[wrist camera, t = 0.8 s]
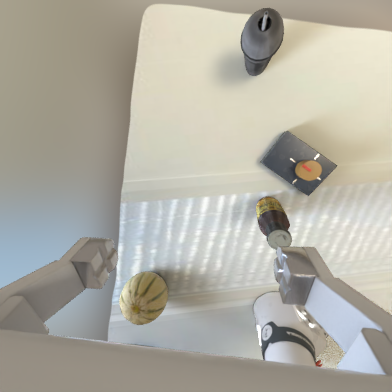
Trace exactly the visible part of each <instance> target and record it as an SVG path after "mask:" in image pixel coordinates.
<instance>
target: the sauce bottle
mask: <svg viewBox="0 0 392 392" xmlns="http://www.w3.org/2000/svg"><path fill="white" fill-rule="evenodd" d="M256 212H257V218H258V223H259V227H260V230H261V231H262V233H263V234H264V235H265V236H267V241H268V244H269V245H270V246H271V247H272V248H273V249H276V250H277V247H278V246H290V245H291V242H292V238H291V235H290V233H289V231H288V228H289V227H290V223H289V221H288V218H287V215H286V213H285V211H284V210H283V208H282V206H281V204H280V203H279V202H278V200H276V199H275V198H272V197H264V198H262V199H260V200H259V202H258V203H257V206H256Z"/></svg>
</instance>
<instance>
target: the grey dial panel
mask: <svg viewBox="0 0 392 392" xmlns="http://www.w3.org/2000/svg"><path fill="white" fill-rule="evenodd" d="M303 160H312V161H316V162H318V163H319V164H320V165H321V167H322V172H321V174H320V176H319V177H318V178H317V179H315V180H312V181H307V180H304V179H302V178H300V177H298V176H297V174H296V172H295V168H296V166H297V164H298V163H299V162H301V161H303ZM261 163H263V164H264V165H265V166H267V167H268V168H270V169H271V170H272V171H274V172H275V173H277V174H278V175H279V176H281V177H282V178H284V179H285V180H286V181H288V182H289V183H291V184H292V185H293V186H295V187H296V188H298V189H299V190H300V191H302V192H303V193H305V194H306V195H308V196H309V195H310V194H311V193H312V192H313V191H314V190H315V189H316V188H317V187H318V186H319V185H320V184H321V182H322V181H323V180H324V179H325V178H326V177H327V176H328V175H329V174H330V173H331V172H332V171H333V170H334V169H335V168H336V167H337V165H336V164H334V163H333V162H331V161H330V160H328V159H327V158H326V157H324V156H323V155H321V154H320V153H318V152H317V151H316V150H314V149H313V148H311V147H310V146H308V145H307V144H306V143H304V142H303V141H301V140H300V139H299V138H297V137H296V136H294V135H293V134H291V133H290V132H289V131H285V132H284V133H283V134H282V135H281V137H280V138H279V139H278V140H277V142H276V143H275V144H274V145H273V147H272V148H271V149H270V151H269V152H268V153H267V154H266V156H265V157H264V158H263V159H262V161H261Z"/></svg>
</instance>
